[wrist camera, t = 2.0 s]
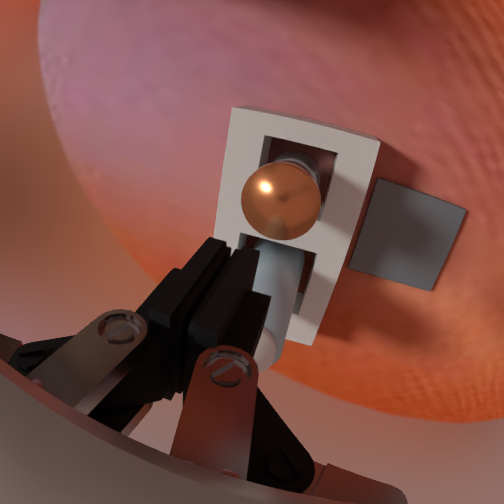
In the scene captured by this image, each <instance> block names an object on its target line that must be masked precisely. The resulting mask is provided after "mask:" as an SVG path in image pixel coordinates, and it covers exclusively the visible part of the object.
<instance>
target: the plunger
mask: <svg viewBox="0 0 504 504" xmlns="http://www.w3.org/2000/svg"><path fill="white" fill-rule="evenodd" d="M320 180H321V175H320V170H319V167H318V165H317V164H316V162H315V161H314V160H313V159H312V158H311V157H310V156H308V155H307V154H305V153H302V152H298V151H289V152H286V153H283V154H281V155H279V156H278V157H277V158H276V159H275V160H274V161H273V162H272V163H268V164H266V165H264V166H262V167H260V168H259V169H257V170H256V171H255V172H254V173H253V174H252V175H251V176H250V177H249V178H248V180H247V181H246V183H245V184H244V187H243V189H242V194H241V206H242V211H243V214H244V216H245V218H246V220H247V221H248V223H249V224H250V225H251V226H252V227H253V228H254V229H255V230H256V231H257V232H258V233H260V234H261V235H263V236H265V237H268V238H271V239H274V240H292V239H295V238H298V237H300V236H302V235H304V234H305V233H307V232H308V231H309V230H310V229H311V228H312V227H313V225H314V224H315V222H316V220H317V218H318V215H319V211H320V205H321V195H320V190H319V185H320Z"/></svg>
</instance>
